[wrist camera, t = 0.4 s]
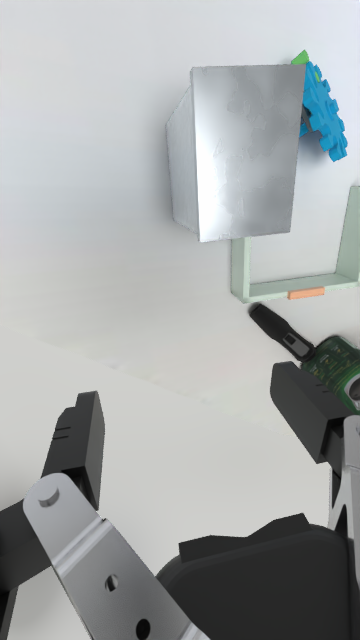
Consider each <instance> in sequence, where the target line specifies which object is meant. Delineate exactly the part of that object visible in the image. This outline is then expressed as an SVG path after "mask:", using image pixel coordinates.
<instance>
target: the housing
mask: <svg viewBox="0 0 360 640" xmlns="http://www.w3.org/2000/svg"><path fill="white" fill-rule="evenodd" d="M305 70H306V64H290V65H253V66H215V67H193V68H192V69H191V71H190V83H191V85H190V87H189V88H188V90H187V91H186V93H185V95H184V96H183V98H182V100H181V101H180V103H179V104H178V106H177V108H176V109H175V111H174V112H173V114H172V116H171V117H170V119H169V121H168V122H167V124H166V134H167V146H168V158H169V170H170V183H171V195H172V207H173V219H174V221H175V222H177V223H179V224H181V225H182V226H184V227H186V228H187V229H189V230H191V231H193V232H194V233H196V234H198V241H199V242H208V241H217V240H226V239H235V238H244V237H252V236H261V235H270V234H279V233H288V232H290V227H291V216H292V206H293V195H294V185H295V175H296V164H297V154H298V143H299V133H300V123H301V112H302V102H303V91H304V81H305Z"/></svg>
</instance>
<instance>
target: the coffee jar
mask: <svg viewBox="0 0 360 640" xmlns="http://www.w3.org/2000/svg"><path fill="white" fill-rule="evenodd" d="M302 370H305V371H307V372H308V373H310V374H312V375H314V376H315V377H316V378H318V379H319V380H320V381H321V382H322V383H323V385H325V386H326V387H327V388H328V389H329V390H330V392H332V393H333V394H334V395H335V396H336V397H337V398H338V399H339V400H340V401H341V402H342V403H343V404H344V405H345V406H346V407H347V408H348V409H349V410H350V411H352V412H353V413H354V414H355V415H359V416H360V350H359V349H358V348H357V347H356V346H354V345H353V344H352V343H350V342H349V341H347V340H346V339H344V338H342V337H332V338H330V339H328V340H327V341H325V342H324V343H323V344H322V345H320V346H319V347H318V348H317V349H316V355H315V356H314V357H313V358H312V359H311V360H310V361H309V362H306V363H305V362H304V363H303V366H302Z"/></svg>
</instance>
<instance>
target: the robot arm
mask: <svg viewBox="0 0 360 640" xmlns="http://www.w3.org/2000/svg"><path fill="white" fill-rule="evenodd" d="M270 394H271V398H272V401H273V403H274V404H275V406H276V407H277V408H278V410H279V411H280V413H281V414H282V415H283V417H284V418H285V420H286V421H287V423H288V424H289V425H290V427H291V428H292V430H293V431H294V432H295V434H296V435H297V437H298V438H299V439H300V441H301V442H302V444H303V445H304V446H305V448H306V449H307V451H308V452H309V454H310V455H311V457H312V458H313V459H314V461H315V462H316V464H319V463H323V462H328V463H329V464H330V465H331V469H330V486H329V521H328V527H327V528H326V527H323V526H319V525H314V524H309V522H308V521H307V519H306V517H305V515H304V514H303V513H300V514H296V515H292V516H288V517H284V518H280V519H276V520H273V521H272V522H270V523H268V524H267V525H266V526H264V527H262V528H261V529H259V530H257V531H256V532H254V533H253V534H251V535H250V536H248V537H230V536H214V535H213V536H212V535H210V536H206V537H202V538H198V539H194V540H190V541H185V542H181V543H179V553H180V554H179V555H178V556H176V557H175V558H173V559H172V560H171V561H170V562H168V563H167V564H166V565H165V566H164V567H163V568H162V569H161V570H160V571H159V573H158V574H157V575H156V576H154V575H153V574H152V572H151V571H150V570H149V569H148V567H147V566H146V565H145V564H144V563H143V561H142V560H141V559H140V557H139V556H138V555H137V554H136V553H135V551H134V550H133V549H132V548H131V546H130V545H129V544H128V543H127V541H126V540H125V539H124V538H123V536H122V535H121V534H120V533H119V532H118V530H117V529H116V528H115V527H114V526H113V524H112V523H111V522H110V521H109V520H108V519H106V518H105V519H104V520H103V519H102V518H101V517H100V516H99V514H98V513H97V512H96V511H97V510H98V508H99V497H100V483H101V472H102V459H103V447H104V446H103V445H104V435H105V424H104V417H103V412H102V408H101V404H100V399H99V395H98V392H97V391H92V392H85V393H79V394H78V397H77V401H76V406H75V407H70V408H66V409H65V410H64V412H63V413H62V414H61V415H60V417H59V418H58V421H57V424H56V428H55V432H54V434H53V438H52V439H53V440H52V441H51V445H50V448H49V452H48V455H47V459H46V462H45V466H44V469H43V473H42V476H41V479H40V480H38V481H37V482H36V483H35V484H34V485H33V486H32V487H31V488H30V489H29V491H28V492H27V494H26V496H25V498H24V499H22V500H21V501H20V502H18V503H16V504H14V505H12V506H10V507H8V508H6V509H4V510H2V511H0V640H7V636H8V632H9V627H10V622H11V618H12V613H13V608H14V604H15V599H16V595H17V591H18V586H19V585H20V584H22V583H23V582H25V581H27V580H28V579H30V578H32V577H33V576H35V575H37V574H38V573H40V572H42V571H43V570H45V569H46V568H48V567H50V566H52V568H53V570H54V572H55V574H56V575H57V577H58V579H59V581H60V583H61V585H62V586H63V588H64V590H65V592H66V594H67V596H68V597H69V599H70V601H71V603H72V605H73V607H74V608H75V610H76V612H77V614H78V616H79V618H80V620H81V622H82V623H83V625H84V627H85V629H86V631H87V633H88V635H89V637H90V639H91V640H360V416H359V415H355V414H354V413H353V412H352V411H350V410H349V409H348V408H347V407H346V406H345V405H344V404H343V403H342V402H341V401H340V400H339V399H338V398H337V397H336V396H335V395H334V394H333V393H332V392H330V390H329V389H328V388H327V387H326V386H325V385H323V383H322V382H321V381H320V380H319V379H318V378H316V377H315V376H314V375H312V374H310V373H308V372H307V371H305V370H300V369H299V368H298V367H297V366H296V365H295V364H294V363H293V362H292V361H287V362H281V363H275V364H274V365H273V369H272V378H271V386H270Z"/></svg>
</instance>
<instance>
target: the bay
mask: <svg viewBox="0 0 360 640" xmlns="http://www.w3.org/2000/svg"><path fill="white" fill-rule="evenodd" d="M250 255H251V237H244V238H235V239H232V255H231V293H232V294H233V295H234V296H235V297H237V298H238V299H239V300H240V301H241V302H242V303H243V304H244V303H251V302H258V301H265V300H272V299H278V298H285V297H287V298H288V299H290V300H291V299H298V298H305V297H312V296H318V295H324V292H326V291H333V290H340V289H347V288H354V287H360V186H354V187H351V188H350V194H349V199H348V205H347V211H346V216H345V222H344V228H343V233H342V239H341V244H340V250H339V256H338V261H337V267H336V273H333V274H325V275H318V276H311V277H303V278H296V279H289V280H282V281H274V282H267V283H260V284H252V285H249V283H250Z"/></svg>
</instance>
